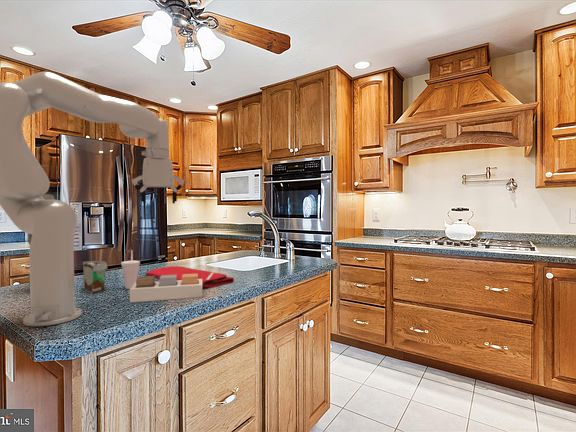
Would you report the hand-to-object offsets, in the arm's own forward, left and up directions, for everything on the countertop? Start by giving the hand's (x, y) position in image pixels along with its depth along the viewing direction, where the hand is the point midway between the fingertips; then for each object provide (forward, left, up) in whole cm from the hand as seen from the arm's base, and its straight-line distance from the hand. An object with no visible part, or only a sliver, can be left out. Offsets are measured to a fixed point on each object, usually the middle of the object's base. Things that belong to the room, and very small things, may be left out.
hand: (159, 203), depth 115 cm
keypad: (-8, -3, -31) cm, 32 cm away
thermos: (+14, +41, -31) cm, 54 cm away
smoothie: (+8, +11, -31) cm, 34 cm away
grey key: (-8, -3, -28) cm, 29 cm away
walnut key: (-8, +4, -28) cm, 29 cm away
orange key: (-8, -10, -28) cm, 31 cm away
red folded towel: (+18, -9, -32) cm, 38 cm away
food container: (+8, +22, -31) cm, 39 cm away
